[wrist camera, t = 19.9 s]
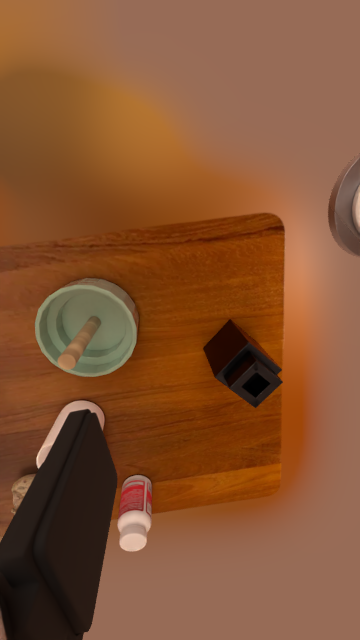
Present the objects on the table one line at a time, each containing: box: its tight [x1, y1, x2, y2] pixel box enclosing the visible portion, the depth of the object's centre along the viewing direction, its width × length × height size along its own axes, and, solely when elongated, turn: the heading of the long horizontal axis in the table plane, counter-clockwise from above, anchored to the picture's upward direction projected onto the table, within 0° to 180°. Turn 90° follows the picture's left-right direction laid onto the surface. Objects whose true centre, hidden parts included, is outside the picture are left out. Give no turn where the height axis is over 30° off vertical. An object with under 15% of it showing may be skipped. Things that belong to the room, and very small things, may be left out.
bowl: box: [35, 278, 139, 377], centre depth 41 cm, size 14×14×6 cm
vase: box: [203, 320, 283, 408], centre depth 41 cm, size 7×7×13 cm
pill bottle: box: [118, 475, 152, 551], centre depth 50 cm, size 6×6×11 cm
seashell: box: [11, 474, 36, 514], centre depth 51 cm, size 11×7×10 cm
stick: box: [58, 316, 101, 370], centre depth 36 cm, size 2×2×14 cm
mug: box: [37, 400, 105, 469], centre depth 45 cm, size 12×8×10 cm
